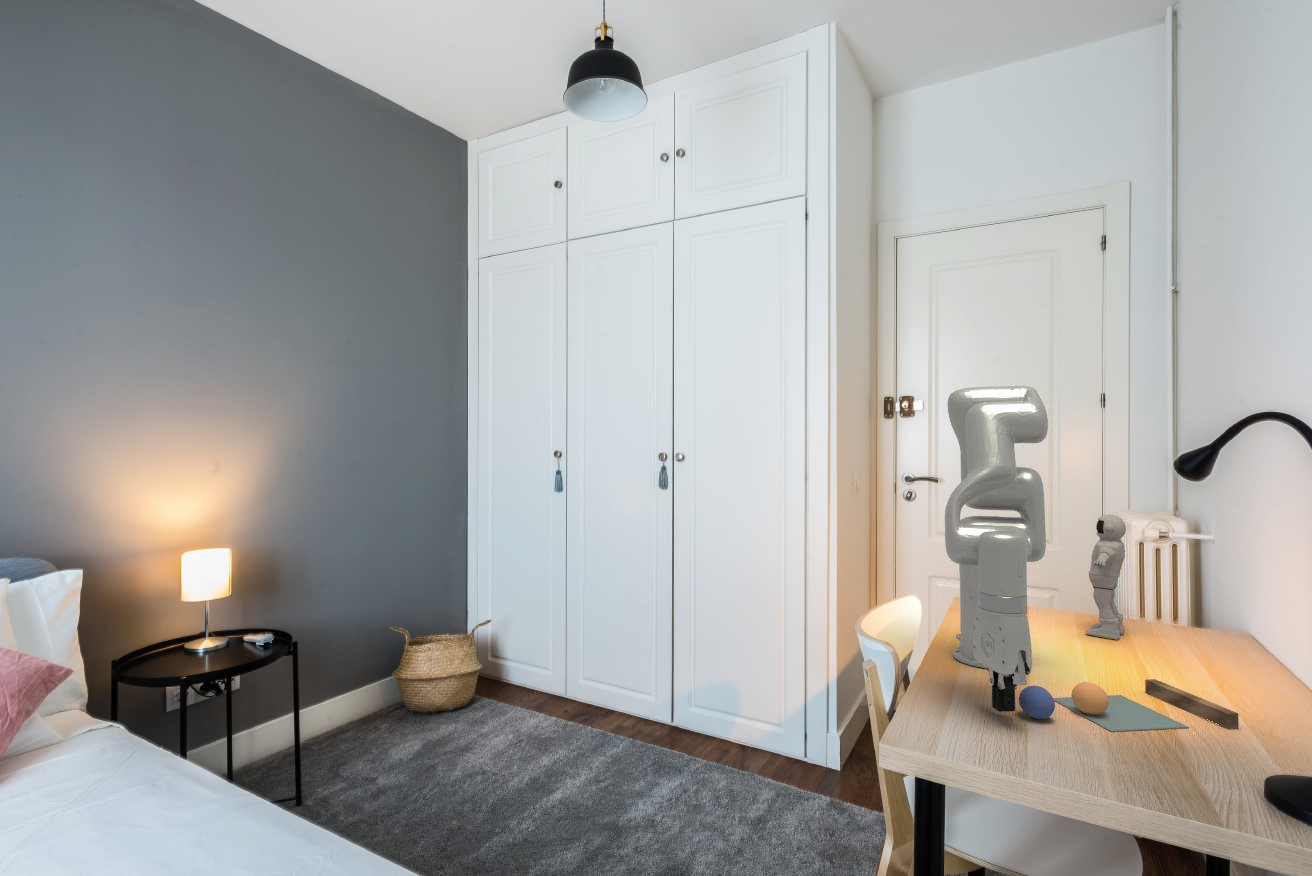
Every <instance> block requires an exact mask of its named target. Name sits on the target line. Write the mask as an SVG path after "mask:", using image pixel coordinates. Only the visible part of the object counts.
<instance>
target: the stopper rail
mask: <svg viewBox="0 0 1312 876" xmlns="http://www.w3.org/2000/svg"><path fill="white" fill-rule="evenodd" d="M1144 680H1145V681H1144V682H1145V687H1144V688H1145V689H1144V690H1145V693H1146V694H1147V695H1150V696H1151V697H1154V698H1156V699H1159V700H1161V701H1164V702H1166V703H1168V704H1170V705H1172V706H1175V707H1176V708H1178V709H1180V710H1184V711H1186V712H1189V713H1190V714H1192V713H1193V715H1194V716H1195V715H1196V716H1197V715H1198V717H1199V716H1200V718H1202V717H1203V718H1202V719H1204V718H1205V719H1204V720H1206V719H1208V720H1210V721H1209V722H1211V721H1213V722H1214V723H1213V722H1212V723H1213V724H1215V723H1217V724H1219V725H1218V726H1220V725H1221V726H1220V727H1222V726H1223V727H1222V728H1224V727H1225V728H1224V729H1226V728H1227V729H1226V730H1235V729H1238V728H1239V726H1240V725H1239V722H1240V721H1239V712H1236V711H1234V710H1231V709H1229V708H1226V707H1225V706H1222V705H1219V704H1216V703H1214V702H1211V701H1209V700H1207V699H1204V698H1202V697H1200V696H1197V695H1194V694H1192V693H1191V692H1190V693H1189V692H1187V691H1186V690H1182V689H1180V688H1178V687H1175V686H1172V685H1170V684H1168V683H1166V682H1162V681H1161V680H1158V679H1155V678H1154V679H1153V678H1151V679H1149V678H1147V679H1144ZM1208 720H1207V721H1208ZM1217 724H1216V725H1217ZM1231 728H1233V729H1231Z"/></svg>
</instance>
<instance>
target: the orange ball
mask: <svg viewBox="0 0 1312 876" xmlns="http://www.w3.org/2000/svg"><path fill="white" fill-rule="evenodd" d="M1071 697H1072V700H1073V703H1074V704H1075V706H1076V707H1077V708H1078V709H1079V710H1080V711H1082V712H1084V713H1086V714H1089V715H1099V714H1101V713H1103V712H1104V711H1105V710H1106V709H1107V707H1108V704H1109V700H1108V694H1107V693H1106V691H1105V690H1104V688H1102V687H1101V686H1100V685H1098V684H1096V683H1093V682H1091V681H1084V682H1080V683H1078V684H1076V685H1074V687H1073V688H1072V690H1071Z"/></svg>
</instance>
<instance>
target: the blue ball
mask: <svg viewBox="0 0 1312 876" xmlns="http://www.w3.org/2000/svg"><path fill="white" fill-rule="evenodd" d="M1053 698H1054V696H1053V695H1052V694H1051V693H1050V692H1049V691H1048V690H1047V689H1046V688H1044V687H1041V686H1039V685H1028V686H1025V687H1024V688H1023V689H1022V690H1021V691H1020V693H1019V696H1018V702H1019V703H1018V704H1019V707H1020V709H1021V710H1022V711H1023V713H1025V714H1026V715H1027V716H1029V717H1031V718H1032V719H1036V720H1045V719H1048V718H1049V717H1051V716H1052V715H1053V714H1054V712H1055V709H1056V702H1055V701H1054V699H1053Z"/></svg>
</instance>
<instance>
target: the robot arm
mask: <svg viewBox="0 0 1312 876" xmlns="http://www.w3.org/2000/svg"><path fill="white" fill-rule="evenodd" d="M947 412H948V413H947V414H948V418H949V422H950V425H951V428H952V430H953V432H954V434H955V437H956V439H957V442H958V446H959V451H960V455H959V456H960V483H958V485H956V487H955V488H954V489H953V491H952V492H951V494H950V495H949V498H948V499H947V502H946V505H945V509H944V510H945V511H944V539H945V540H944V545H945V550H946V554H947V557H948V558H949V560H951V561H952V562H954V563H955V564H958V568H959V603H960V605H959V609H960V610H959V611H960V612H959V615H960V616H959V618H960V619H959V620H960V628H959V629H960V632H959V633H957V634H955V639H956V640H958V641H959V647H956V648H954V649H953V651H952V656H953V658H954V659H955V660H956V659H957V661H958V662H960V663H962V664H966V665H969V666H972V667H976V668H984V669H986V670H987V672H988V676H989V677H988V678H989V683H990V684H991V706H992V708H993V709H994V710H996V711H998V712H1000V713H1003V712H1006V713H1007V712H1014V711H1015V710H1016V689H1018V686H1025V685H1026V686H1027V684H1028V680H1027V676H1029V675H1030V674H1032V673H1031V672H1032V666H1033V665H1032V664H1033V656H1032V655H1033V651H1032V639H1031V630H1030V625H1029V619H1028V616H1027V615H1028V589H1027V588H1028V579H1027V578H1028V575H1027V574H1028V572H1027V571H1028V570H1027V564H1028V563H1035V562H1039V561H1040V560H1042V559H1043V558H1044V556H1045V553H1046V550H1047V549H1046V547H1047V545H1046V544H1047V534H1046V513H1045V509H1046V508H1045V491H1044V483H1043V480H1042V477H1041V475H1040V473H1039V472H1038V471H1037V470H1035V469H1033V468H1031V467H1022V466H1021V467H1020V466H1017V464H1016V450H1015V444H1039V443H1042V442H1043V441H1045V439H1046V438H1047V435H1048V432H1049V431H1048V430H1049V429H1048V428H1049V418H1048V414H1047V410H1046V407H1045V405H1044V402H1043V400H1042V398H1041V396H1040V395H1039V393H1038V391H1037V390H1036V389H1035V388H1034V387H1032V386H1029V385H1010V386H1008V385H1007V386H1005V385H1003V386H976V387H965V388H961V389H957V390H955V391H953V392H951V393H950V395H949V396H948V398H947ZM964 505H965V506H966V507H968V508H971V509H972V510H973V509H975V510H981V511H983V510H984V511H1011V512H1012V511H1014V512H1016V513H1018V514H1019V515H1020V517H1019V516H1018V517H1016V516H997V515H971V516H966V517H963V518H961V512H962V509H963V507H964Z"/></svg>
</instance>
